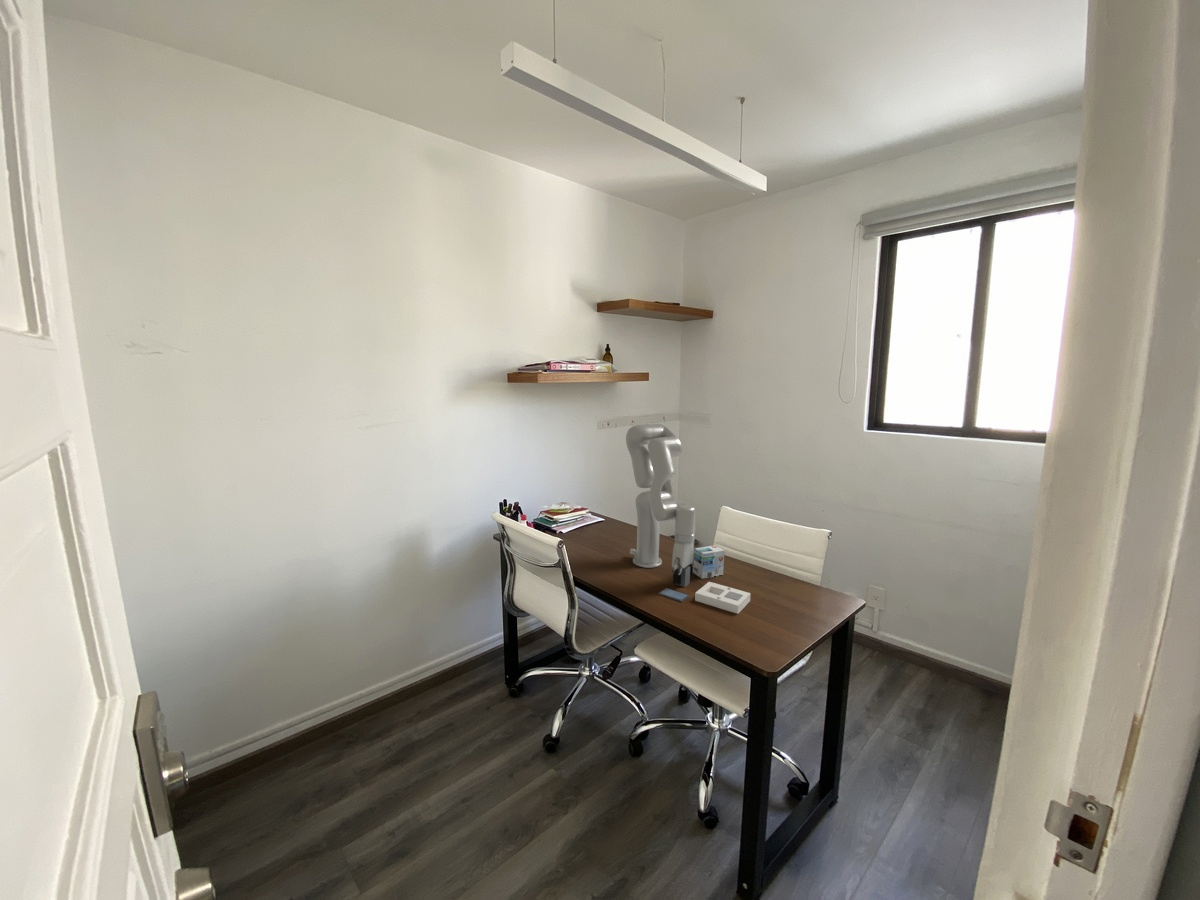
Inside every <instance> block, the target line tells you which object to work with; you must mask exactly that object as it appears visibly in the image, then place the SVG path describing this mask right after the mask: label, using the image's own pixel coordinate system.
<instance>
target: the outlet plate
mask: <svg viewBox="0 0 1200 900" xmlns="http://www.w3.org/2000/svg"><path fill="white" fill-rule="evenodd" d="M694 601H695V602H698V603H702V604H705V605H708V606H711V607H715V608H718V609H721V610H724V611H727V612H731V613H733V614H739V613H740V612H742V610H743V609H744V608H745V607H747V605H749V603H750V602H751V592H747V591H744V590H741V589H736V588H733V587H730V586H727V585H722V584H719V583H715V582H711V581H708V582H707V583H705V584H704V585H703V586H702V587H701V588H699V589H698V590H697V591H696V592H695V594H694Z"/></svg>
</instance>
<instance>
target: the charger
mask: <svg viewBox="0 0 1200 900" xmlns="http://www.w3.org/2000/svg"><path fill="white" fill-rule="evenodd" d="M678 566H680V565H678ZM677 570H678V571H679V568H677ZM690 580H691V576H690V566H687V567H685V568H683V569H682V571H681V584H680V585H679V584H675V585H677V586H680V587H684V588H686V587H687V586H688V585H689V584H690V583H691V582H690Z"/></svg>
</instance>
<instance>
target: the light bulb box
mask: <svg viewBox="0 0 1200 900" xmlns="http://www.w3.org/2000/svg"><path fill="white" fill-rule="evenodd" d="M694 553H695V555H694V561H693V574H694V575H696V576H698V577H699V578H700V579H708V578H709V577H710V578H715V577H714V576H716V577H720V576H719V575H723V576H724V564H725V549H722V548H721V547H719V546H717V545H715V544H714V545H709V546H702V547H694Z"/></svg>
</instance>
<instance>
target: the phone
mask: <svg viewBox="0 0 1200 900" xmlns="http://www.w3.org/2000/svg"><path fill="white" fill-rule="evenodd" d="M657 594H658V595H659V596H662V597H665V598H668V599H671V600H674V601H676V602H680V603H683V602H684V601H686V600H687V599H689V598H690V597H691V595H690V594H687V593H684V592H680V591H678V590H674V589H671V588H668V587H666V588H664V589H663V590H660V591H659V592H658V593H657Z"/></svg>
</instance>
